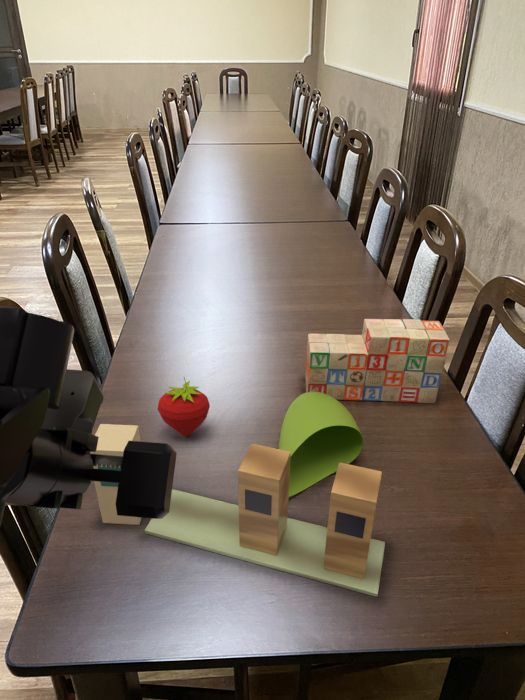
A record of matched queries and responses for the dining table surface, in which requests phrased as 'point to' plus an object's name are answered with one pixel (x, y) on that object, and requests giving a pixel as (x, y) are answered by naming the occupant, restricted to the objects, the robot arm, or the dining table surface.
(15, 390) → the robot arm
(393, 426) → the dining table surface
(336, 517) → the block line
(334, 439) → the green curved shell
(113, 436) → the tall cream block
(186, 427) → the strawberry
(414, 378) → the stack of blocks
